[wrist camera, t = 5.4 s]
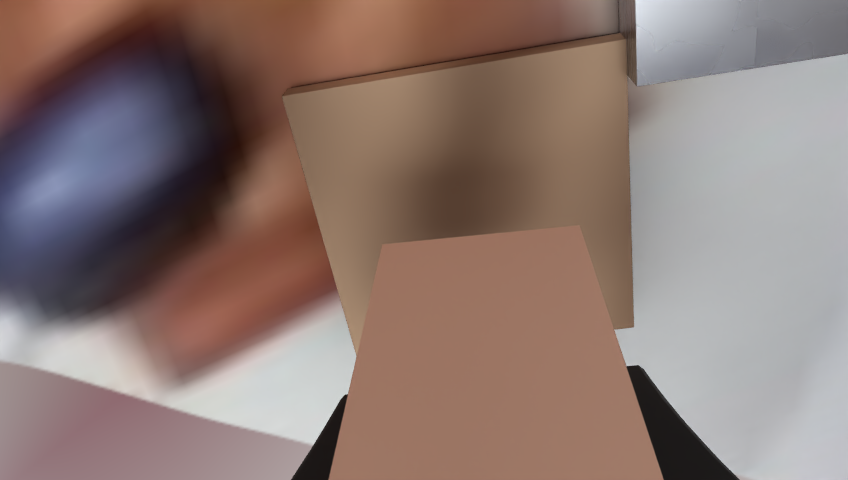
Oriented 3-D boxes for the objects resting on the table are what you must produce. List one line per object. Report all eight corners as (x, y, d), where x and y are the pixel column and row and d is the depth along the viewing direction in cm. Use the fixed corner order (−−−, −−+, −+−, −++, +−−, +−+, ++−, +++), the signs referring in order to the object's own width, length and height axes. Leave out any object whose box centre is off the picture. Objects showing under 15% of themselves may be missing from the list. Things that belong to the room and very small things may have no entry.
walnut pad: (619, 32, 19) (626, 39, 18) (628, 313, 23) (633, 327, 23) (288, 88, 20) (281, 96, 19) (360, 344, 25) (356, 358, 24)
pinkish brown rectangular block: (579, 225, 14) (690, 561, 7) (584, 379, 16) (673, 754, 9) (382, 244, 15) (307, 574, 8) (411, 391, 17) (372, 756, 10)
